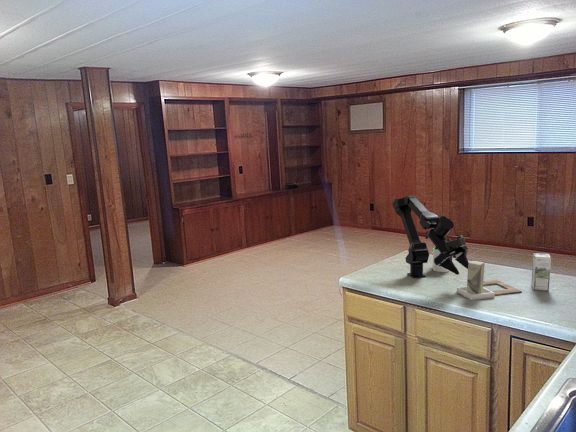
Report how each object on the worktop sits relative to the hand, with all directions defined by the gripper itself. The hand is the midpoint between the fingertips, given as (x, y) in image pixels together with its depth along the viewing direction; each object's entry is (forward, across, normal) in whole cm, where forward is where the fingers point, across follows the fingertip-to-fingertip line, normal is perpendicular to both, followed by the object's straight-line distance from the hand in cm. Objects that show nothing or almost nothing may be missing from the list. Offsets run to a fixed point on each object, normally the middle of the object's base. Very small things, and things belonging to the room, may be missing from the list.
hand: (464, 271), depth 189 cm
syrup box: (+21, +24, -8) cm, 33 cm away
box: (+9, 0, +2) cm, 10 cm away
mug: (-11, +24, +24) cm, 36 cm away
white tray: (+10, 0, +2) cm, 10 cm away
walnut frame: (+11, +13, +1) cm, 17 cm away
